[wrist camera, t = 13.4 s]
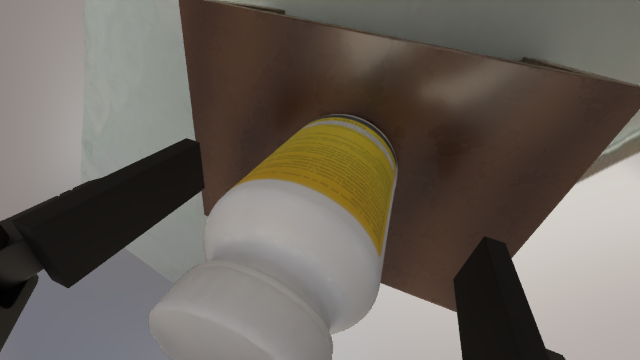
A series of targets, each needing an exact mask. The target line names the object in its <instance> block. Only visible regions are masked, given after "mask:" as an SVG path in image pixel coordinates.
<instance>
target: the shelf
mask: <svg viewBox="0 0 640 360" xmlns="http://www.w3.org/2000/svg"><path fill="white" fill-rule="evenodd" d="M179 7H180V15H181V23H182V32H183V40H184V48H185V56H186V65H187V73H188V81H189V90H190V98H191V106H192V115H193V123H194V131H195V139H196V142H199V143H200V150H201V159H202V168H203V177H204V185H205V188H204V189H203V190H202V197H203V206H204V214H205V215H206V216H209V214H210V212H211V210H212V209H213V207H214V206H215V204H216V203H217V202H218V201H219V200H220V199H221V198H222V197H223V196H224V195H225V194H226V193H227V192H228V191H229V190H230V189H231V188H233V187H234V186H235V185H236V184H237V183H239V182H240V181H241V180H242V179H243V178H244V177H246V176H247V175H248V174H249V173H250V172H251V171H252V170H254V169H255V168H256V167H257V166H258V165H259V164H261V163H262V162H263V161H264V160H265V159H266V158H268V157H269V156H270V155H271V154H272V153H274V152H275V151H276V150H277V149H278V148H279V147H280V146H282V145H283V144H284V143H285V142H286V141H288V140H289V139H290V138H291V137H292V136H293V135H295V134H296V133H297V132H298V131H299V130H301V129H302V128H303V127H304V126H305V125H307V124H308V123H310V122H311V121H313V120H315V119H317V118H320V117H323V116H327V115H332V114H345V115H351V116H355V117H358V118H361V119H363V120H365V121H367V122H369V123H371V124H372V125H374V126H375V127H376V128H378V129H379V130H380V131H381V132H382V133H383V134H384V135H385V137H386V138H387V139H388V141H389V142H390V144H391V146H392V148H393V150H394V153H395V156H396V160H397V167H398V172H397V181H396V187H395V192H394V197H393V203H392V209H391V215H390V222H389V228H388V234H387V241H386V247H385V254H384V261H383V268H382V274H381V281H380V283H382V284H385V285H388V286H390V287H392V288H395V289H398V290H400V291H403V292H405V293H408V294H411V295H413V296H416V297H418V298H421V299H424V300H426V301H429V302H431V303H434V304H437V305H439V306H442V307H445V308H447V309H449V310H452V311H455V312H457V308H456V299H455V291H454V282H453V279H454V277H455V276H456V275H457V273H458V272H459V270H460V269H461V268H462V266H463V265H464V264H465V262H466V261H467V259H468V258H469V257H470V255H471V254H472V252H473V251H474V250H475V248H476V247H477V245H478V244H479V243H480V241H481V240H482V239H483V237H484V236H486V237H489V238H492V239H495V240H498V241H501V242H504V243H506V246H507V248H508V251H509V254H510V256H511V258H512V257H513V256H514V255H515V254H516V253H517V251H518V250H519V249H520V248H521V247H522V246H523V244H524V243H525V242H526V241H527V240H528V238H529V237H530V236H531V235H532V234H533V233H534V231H535V230H536V229H537V228H538V227H539V226H540V224H541V223H542V222H543V221H544V220H545V219H546V217H547V216H548V215H549V214H550V213H551V212H552V210H553V209H554V208H555V207H556V206H557V205H558V203H559V202H560V201H561V200H562V199H563V198H564V196H565V195H566V194H567V193H568V192H569V191H570V189H571V188H572V187H573V186H574V185H575V184H576V182H577V181H578V180H579V179H580V178H581V177H582V175H583V174H584V173H585V172H586V171H587V170H588V168H589V167H590V166H591V165H592V164H593V163H594V161H595V160H596V159H597V158H598V157H599V156H600V154H601V153H602V152H603V151H604V150H605V149H606V147H607V146H608V145H609V144H610V143H611V142H612V140H613V139H614V138H615V137H616V136H617V135H618V133H619V132H620V131H621V130H622V129H623V128H624V126H625V125H626V124H627V123H628V122H629V121H630V119H631V118H632V117H633V116H634V115H635V114H636V112H637V111H638V110H639V109H640V86H638V85H634V84H631V83H627V82H623V81H619V80H615V79H612V78H608V77H604V76H600V75H597V74H593V73H589V72H585V71H581V70H578V69H574V68H570V67H566V66H563V65H559V64H555V63H551V62H547V61H542V60H537V59H532V58H527V57H524V58H523V60H522V62H518V61H513V60H508V59H503V58H498V57H493V56H488V55H483V54H478V53H473V52H468V51H463V50H458V49H453V48H448V47H443V46H438V45H433V44H428V43H423V42H418V41H413V40H408V39H403V38H397V37H392V36H387V35H382V34H377V33H372V32H367V31H362V30H357V29H352V28H347V27H342V26H337V25H332V24H327V23H322V22H317V21H312V20H307V19H302V18H297V17H292V16H287V15H285V11H284V10H280V9H275V8H270V7H263V6H256V5H249V4H241V3H234V2H227V1H219V0H179Z"/></svg>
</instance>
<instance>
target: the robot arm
mask: <svg viewBox="0 0 640 360" xmlns="http://www.w3.org/2000/svg"><path fill="white" fill-rule="evenodd" d="M204 188H205V185H204V177H203V168H202V159H201V150H200V143H199V142H196V141H193V140H190V139H187V138H186V139H184V140H182V141H180V142H178V143H175V144H173V145H171V146H169V147H167V148H165V149H163V150H161V151H158V152H156V153H154V154H152V155H150V156H148V157H146V158H143V159H141V160H139V161H137V162H135V163H133V164H131V165H129V166H126V167H124V168H122V169H120V170H118V171H116V172H114V173H111V174H109V175H107V176H105V177H103V178H99V179H95V180H92V181H88V182H86V183H84V184H81V185H79V186H77V187H75V188H73V190H69V191H66V192H64V193H62V194H60V196H55V197H53V198H51V199H49V200H47V201H44V202H42V203H40V204H38V205H36V206H34V207H31V208H29V209H27V210H25V211H23V212H21V213H18V214H16V215H14V216H12V217H10V218H7V219H5V220H2V221H0V351H1V349H2V348H3V346H4V344H5V342H6V340H7V338H8V336H9V335H10V333H11V331H12V329H13V327H14V325H15V323H16V322H17V320H18V318H19V316H20V314H21V312H22V310H23V308H24V307H25V305H26V303H27V301H28V299H29V297H30V296H31V294H32V292H33V290H34V288H35V286H36V285H37V282H38V278H39V277H38V275H37V273H38V272H40V271H41V270H43V269H45V271H46V272H47V273H48V275H49V276H50V278H51V279H52V280H53V281H55V282H57V283H59V284H61V285H63V286H65V287H67V288H70V287H71V286H72V285H74V284H75V283H77V282H78V281H79V280H81V279H82V278H83V277H85V276H86V275H87V274H89V273H90V272H92V271H93V270H94V269H95V268H97V267H98V266H100V265H101V264H102V263H104V262H105V261H106V260H108V259H109V258H111V257H112V256H113V255H115V254H116V253H117V252H119V251H120V250H121V249H123V248H124V247H125V246H127V245H128V244H130V243H131V242H132V241H134V240H135V239H136V238H138V237H139V236H140V235H142V234H143V233H145V232H146V231H147V230H149V229H150V228H151V227H153V226H154V225H155V224H157V223H158V222H159V221H161V220H162V219H164V218H165V217H166V216H168V215H169V214H170V213H172V212H173V211H174V210H176V209H177V208H178V207H180V206H181V205H183V204H184V203H185V202H187V201H188V200H189V199H191V198H192V197H193V196H195V195H196V194H198V193H199V192H200V191H202V190H203V189H204ZM453 282H454V291H455V299H456V308H457V316H458V325H459V332H460V341H461V350H462V359H463V360H565V358H564V357H563V355H560V354H558V353H555V352H553V351H551V350H548V349H546V348H545V346H544V343H543V340H542V338H541V335H540V333H539V330H538V327H537V325H536V322H535V319H534V317H533V314H532V312H531V309H530V306H529V304H528V301H527V298H526V296H525V293H524V290H523V288H522V285H521V283H520V280H519V278H518V275H517V272H516V270H515V267H514V264H513V262H512V259H511V256H510V254H509V251H508V248H507V246H506V243H504V242H501V241H498V240H495V239H492V238H489V237H486V236H484V237H483V239H482V240H481V241H480V243H479V244H478V245H477V247H476V248H475V250H474V251H473V252H472V254H471V255H470V257H469V258H468V259H467V261H466V262H465V264H464V265H463V266H462V268H461V269H460V270H459V272H458V273H457V275H456V276H455V277H454V279H453Z"/></svg>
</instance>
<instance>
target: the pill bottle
mask: <svg viewBox="0 0 640 360" xmlns="http://www.w3.org/2000/svg"><path fill="white" fill-rule="evenodd" d="M397 172H398V167H397V160H396V156H395V153H394V150H393V148H392V146H391V144H390V142H389V141H388V139H387V138H386V137H385V135H384V134H383V133H382V132H381V131H380V130H379V129H378V128H376V127H375V126H374V125H372V124H371V123H369V122H367V121H365V120H363V119H361V118H358V117H355V116H351V115H345V114H332V115H327V116H323V117H320V118H317V119H315V120H313V121H311V122H310V123H308V124H307V125H305V126H304V127H303V128H302V129H301V130H299V131H298V132H297V133H296V134H295V135H293V136H292V137H291V138H290V139H289V140H288V141H286V142H285V143H284V144H283V145H282V146H280V147H279V148H278V149H277V150H276V151H275V152H274V153H272V154H271V155H270V156H269V157H268V158H266V159H265V160H264V161H263V162H262V163H261V164H259V165H258V166H257V167H256V168H255V169H254V170H252V171H251V172H250V173H249V174H248V175H247V176H246V177H244V178H243V179H242V180H241V181H240V182H239V183H237V184H236V185H235V186H234V187H233V188H231V189H230V190H229V191H228V192H227V193H226V194H225V195H224V196H223V197H222V198H221V199H220V200H219V201H218V202H217V203H216V204H215V206H214V207H213V209H212V210H211V212H210V214H209V216H208V219H207V222H206V225H205V230H204V252H205V258H206V262H204V263H201V264H198V265H197V266H195V267H193V268H192V269H191V270H189V271H187V272H186V273H185V274H184V275H183V276H182V277H181V278H180V279H179V280H178V282H177V283H176V284H175V285H174V286H173V287H172V288H171V289H170V291H169V292H168V293H167V294H166V295H165V296H164V297H163V298H162V299H161V300H160V301H159V303H158V304H157V305H156V306H155V307H154V308H153V310H152V311H151V313H150V315H149V328H150V331H151V333H152V335H153V337H154V339H155V341H156V342H157V344H158V345H159V347H160V348H161V349H162V351H163V352H164V353H165V354H166V355H167V356H168V357H169V358H170V359H171V360H332V353H333V342H332V338H331V334H335V333H338V332H341V331H344V330H346V329H348V328H350V327H352V326H353V325H355V324H356V323H358V322H359V321H360V320H362V319H363V318H364V317H365V316H366V314H367V313H368V312H369V311H370V309H371V308H372V306H373V304H374V302H375V300H376V297H377V294H378V291H379V286H380V281H381V274H382V268H383V261H384V254H385V247H386V241H387V234H388V228H389V222H390V215H391V209H392V203H393V197H394V192H395V187H396V181H397Z"/></svg>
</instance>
